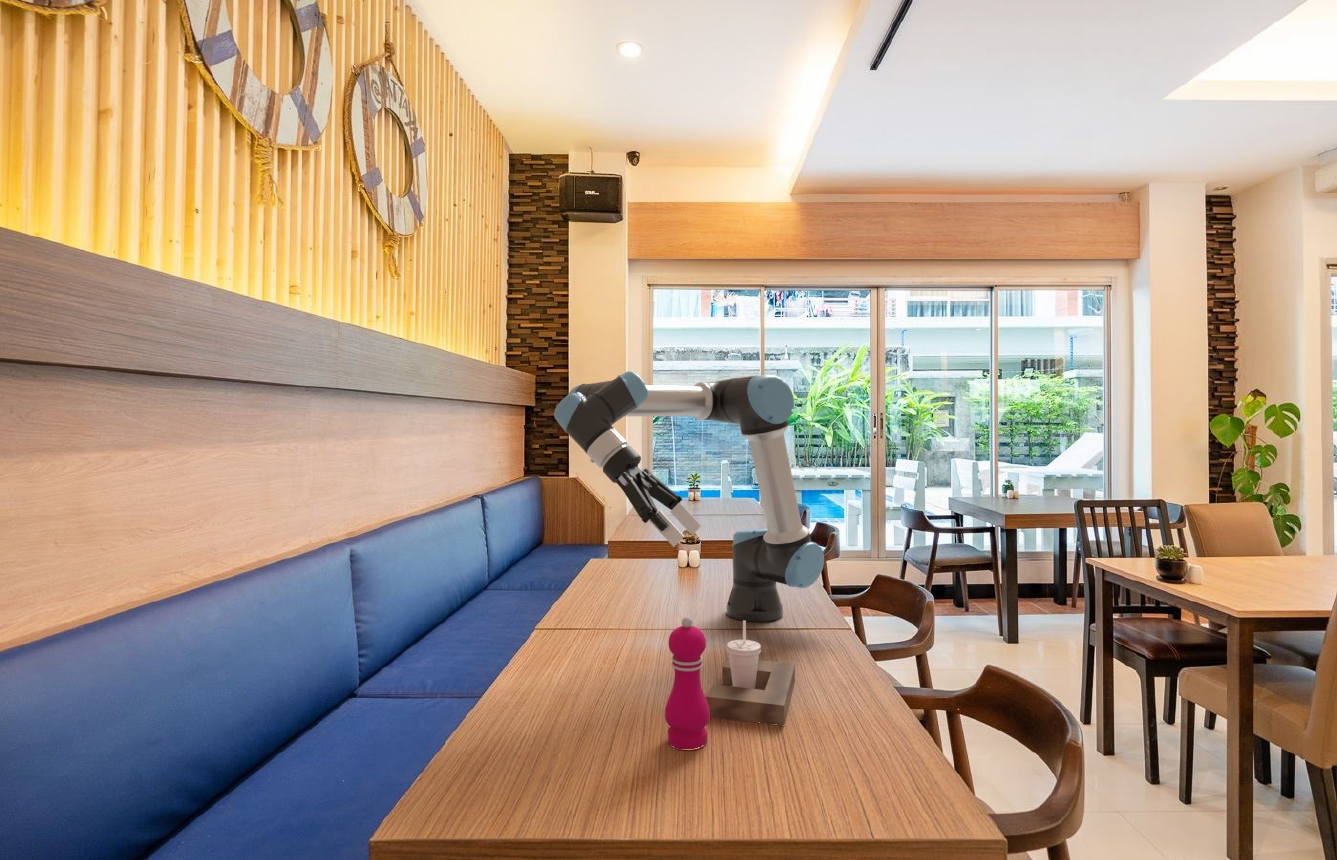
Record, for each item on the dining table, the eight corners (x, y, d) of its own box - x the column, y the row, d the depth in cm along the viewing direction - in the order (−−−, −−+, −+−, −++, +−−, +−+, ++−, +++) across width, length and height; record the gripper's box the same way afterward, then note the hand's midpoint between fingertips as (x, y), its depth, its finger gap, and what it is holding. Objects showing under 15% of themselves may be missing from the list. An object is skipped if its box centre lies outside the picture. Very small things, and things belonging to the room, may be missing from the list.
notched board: (706, 716, 111) (705, 696, 111) (727, 674, 130) (727, 657, 131) (784, 726, 108) (784, 705, 108) (794, 681, 127) (794, 663, 127)
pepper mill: (695, 757, 97) (695, 626, 97) (656, 745, 101) (655, 619, 101) (717, 738, 104) (717, 614, 104) (679, 727, 107) (679, 608, 107)
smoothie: (764, 692, 122) (763, 618, 122) (757, 705, 116) (757, 628, 116) (731, 687, 124) (731, 615, 124) (723, 701, 118) (722, 625, 118)
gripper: (624, 466, 140) (691, 538, 135) (576, 474, 116) (655, 561, 111) (647, 442, 138) (715, 514, 134) (603, 445, 114) (685, 532, 110)
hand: (688, 535), depth 123 cm, fingers open, 13 cm apart
